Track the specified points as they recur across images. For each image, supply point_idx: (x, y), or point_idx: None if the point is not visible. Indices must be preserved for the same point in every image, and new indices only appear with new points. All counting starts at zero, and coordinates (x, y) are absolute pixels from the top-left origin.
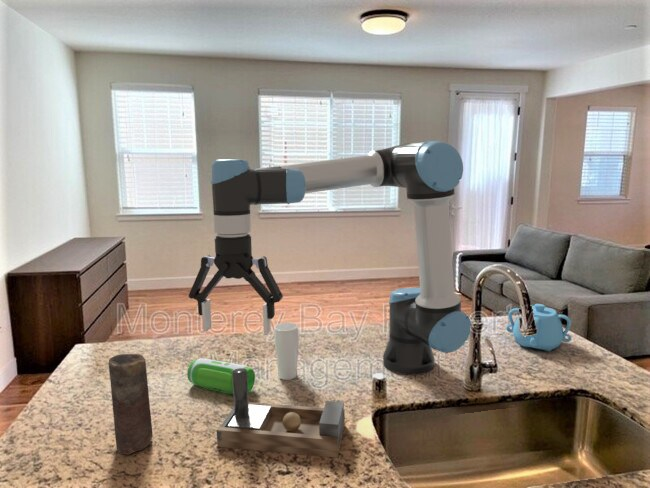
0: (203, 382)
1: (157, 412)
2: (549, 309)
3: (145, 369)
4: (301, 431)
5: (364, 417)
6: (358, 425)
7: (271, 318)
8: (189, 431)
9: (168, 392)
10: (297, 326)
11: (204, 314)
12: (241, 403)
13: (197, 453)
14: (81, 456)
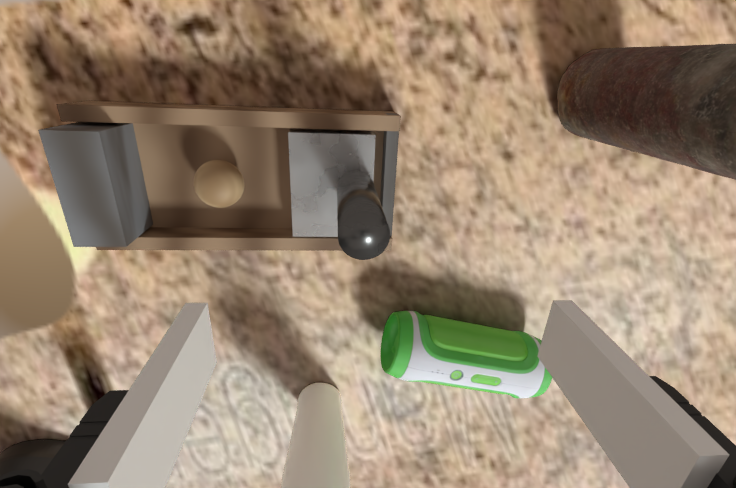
0: (500, 329)
1: (573, 226)
2: None
3: (724, 134)
4: None
5: (84, 268)
6: None
7: (111, 392)
8: (478, 163)
9: None
10: None
11: (629, 372)
12: (350, 182)
13: (433, 79)
14: (700, 35)
